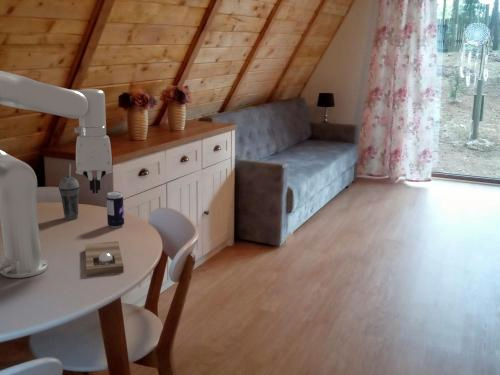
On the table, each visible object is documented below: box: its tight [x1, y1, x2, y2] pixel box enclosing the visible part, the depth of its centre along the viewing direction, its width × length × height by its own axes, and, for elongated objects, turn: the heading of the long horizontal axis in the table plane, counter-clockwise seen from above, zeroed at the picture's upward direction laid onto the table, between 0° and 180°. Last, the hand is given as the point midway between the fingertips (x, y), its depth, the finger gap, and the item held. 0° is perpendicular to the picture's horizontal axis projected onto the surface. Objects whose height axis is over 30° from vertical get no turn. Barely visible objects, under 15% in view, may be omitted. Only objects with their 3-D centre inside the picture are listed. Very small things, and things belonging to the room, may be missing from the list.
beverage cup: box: [58, 163, 80, 221], centre depth 199 cm, size 7×7×20 cm
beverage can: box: [105, 191, 125, 229], centre depth 193 cm, size 6×6×12 cm
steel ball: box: [99, 253, 113, 265], centre depth 160 cm, size 4×4×4 cm
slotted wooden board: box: [84, 241, 125, 277], centre depth 164 cm, size 20×10×2 cm, turn 17°
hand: (95, 192), depth 166 cm, fingers closed
